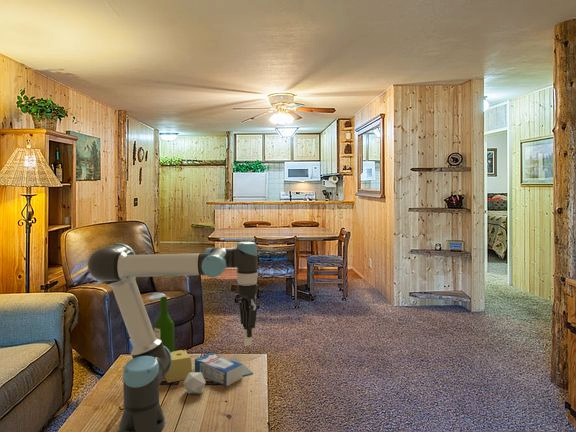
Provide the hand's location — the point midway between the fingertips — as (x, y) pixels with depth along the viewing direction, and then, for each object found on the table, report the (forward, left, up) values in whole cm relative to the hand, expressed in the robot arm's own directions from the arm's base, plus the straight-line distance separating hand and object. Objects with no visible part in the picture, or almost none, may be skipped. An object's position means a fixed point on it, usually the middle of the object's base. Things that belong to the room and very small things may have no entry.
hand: (248, 344), depth 163 cm
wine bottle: (-18, +54, -25) cm, 62 cm away
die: (-14, +22, -25) cm, 36 cm away
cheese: (-16, +40, -25) cm, 50 cm away
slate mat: (+5, +36, -24) cm, 43 cm away
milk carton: (+4, +22, -21) cm, 31 cm away
